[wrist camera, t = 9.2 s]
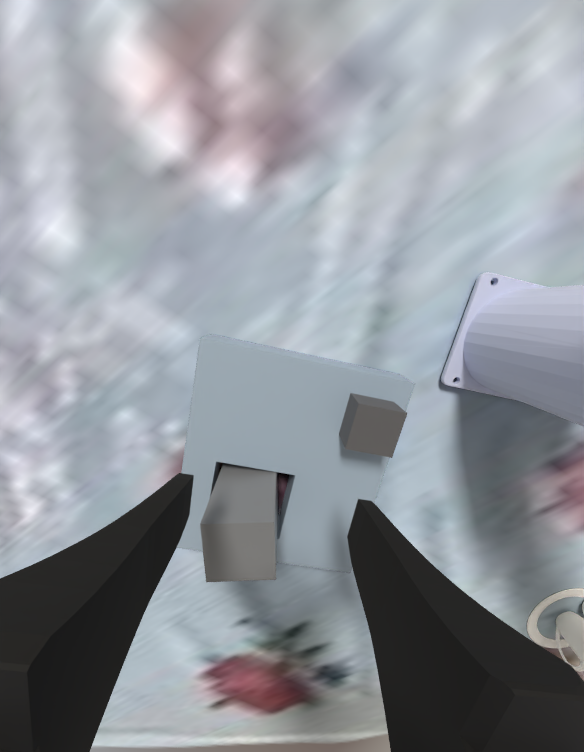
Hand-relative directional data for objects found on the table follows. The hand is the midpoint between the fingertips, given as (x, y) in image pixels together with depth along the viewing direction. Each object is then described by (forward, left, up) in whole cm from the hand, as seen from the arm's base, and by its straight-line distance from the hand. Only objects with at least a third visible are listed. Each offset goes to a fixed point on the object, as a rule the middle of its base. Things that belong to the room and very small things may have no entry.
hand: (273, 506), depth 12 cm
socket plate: (-1, +3, -9) cm, 10 cm away
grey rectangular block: (+1, +5, -9) cm, 11 cm away
